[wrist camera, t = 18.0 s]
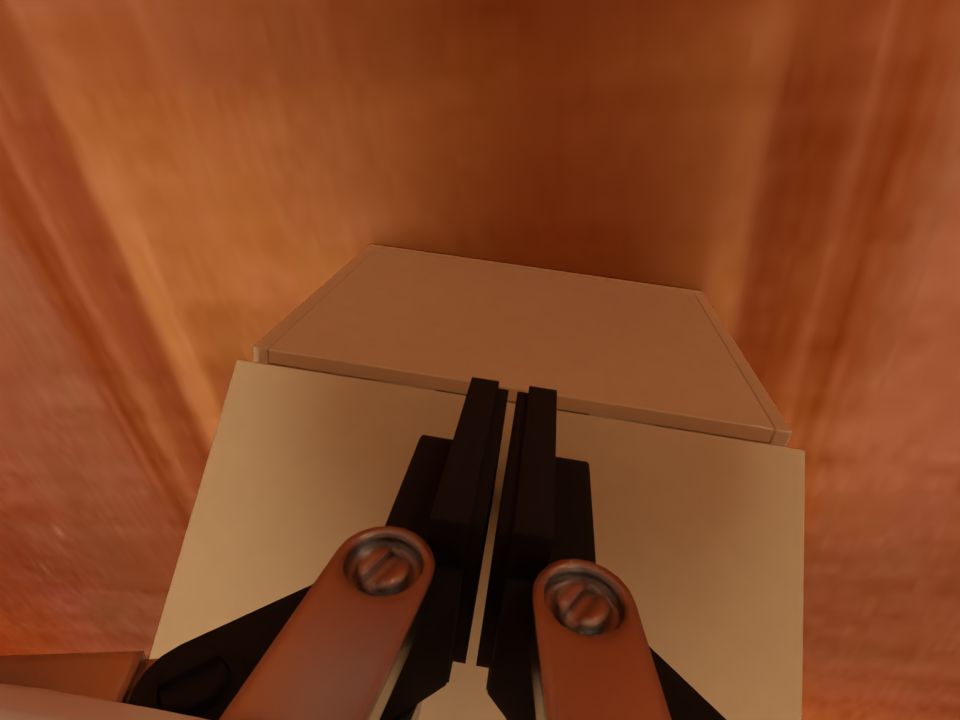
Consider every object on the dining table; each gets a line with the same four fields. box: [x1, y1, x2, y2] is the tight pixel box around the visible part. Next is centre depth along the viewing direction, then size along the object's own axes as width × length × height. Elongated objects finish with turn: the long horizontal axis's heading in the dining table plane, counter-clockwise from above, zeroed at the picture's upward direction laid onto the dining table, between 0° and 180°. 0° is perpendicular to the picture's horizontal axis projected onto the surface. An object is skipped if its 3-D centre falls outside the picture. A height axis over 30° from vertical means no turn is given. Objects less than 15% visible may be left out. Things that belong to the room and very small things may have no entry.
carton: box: [253, 244, 792, 447], centre depth 21 cm, size 17×13×10 cm
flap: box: [149, 360, 805, 720], centre depth 11 cm, size 8×13×1 cm
